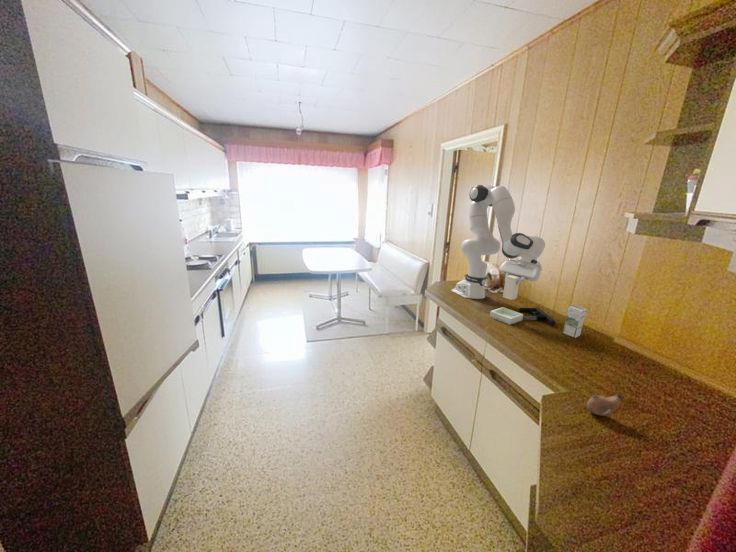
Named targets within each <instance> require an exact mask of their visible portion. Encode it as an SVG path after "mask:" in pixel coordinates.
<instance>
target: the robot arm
mask: <svg viewBox="0 0 736 552" xmlns="http://www.w3.org/2000/svg"><path fill="white" fill-rule="evenodd" d="M468 196H469V199H470V201H472V202H471V203H470V205H469V208H468V209H469V211H468V217H469V218H468V220H469V229H470V231H471V232H472V233H473V234H474V235H476V237H475V238H474V237H472V238H467V239H464V240H463V241H462V242H461V247H460V248H461V251H462V253H463V254H464V255H465V256H466V258H467V261H468V269H467V270H468V271H467V272H468V273H466V274H464V277H465V278H464V279H461V280H460V281H458V282H457V283H456V284H455V287H454V288H452V289H451V292H453V293H454V294H457V295H459V296H461V297H463V298H465V299H474V300H479V299H480V300H483V299H485V298H486V294H485V292H486V291H485V285H486V281H487V269H488V265H487V263H486V262H484V261H483V260H482V256H491V255H495V254H498V253H499V252H500V251H501V253H502V254H503V256H504V257H506V258H508V259H506V260H505V261H504V262H503V263H501V265H500V266H499V268H498V269H499V272H500V274H501V275H502V274H503V275H505V278H504V281H505V280H506V276H509V275H514V276H518V277H520V280H517V282H516V284H518V285H519V286H520V285H521V283H523V282H525V281H526V280H527V281H531V282H533V283H534V282H537V281H538V280H539V278H540V277H541V274H542V273H541V272H542V271H543V266H542V264H541V262H540V261H539V260H538V258H540V256H542V254H543V252H544V250H545V247H546V242H545V240H544V239H543V238H542V237H540V236H537V235H536V236H530V235H527V234H524V233H521V232H516V233H513V232H512V228H511V224H512V221H513V218H514V214H515V212H516V205H515V202H514V199H513V198H512V196H511V193H510V192H509V190H508V189H507V187H506V186H504V185H498V186H494V185H489V184H486V185H485V184H477V185H473V187H471V188H470V191H469V195H468ZM488 207H492V209H493V213H494V215H495V218H496V223H497V228H498V232H499V237H500V239H501V242H502V243H500V241H499V240H498V239H497V238H496V237H494V234H492V232H491V229H490V226H489V219H488ZM501 244H502V245H501ZM501 246H502V247H501ZM500 249H501V250H500ZM515 259H516V260H515Z"/></svg>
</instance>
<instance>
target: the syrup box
mask: <svg viewBox="0 0 736 552" xmlns="http://www.w3.org/2000/svg"><path fill="white" fill-rule="evenodd" d="M586 314H587V308H584V307H581V306H578V305H575V304H573V305H570V306H569V307H568V309H567V313H566V318H565V320H564V321H565V322H564V326H563V329H562V334H564V335H566V336H569V337H571V338H574V339H576V338H578V337H580V336H581V333H582V329H583V325H584V321H585V317H586Z"/></svg>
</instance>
